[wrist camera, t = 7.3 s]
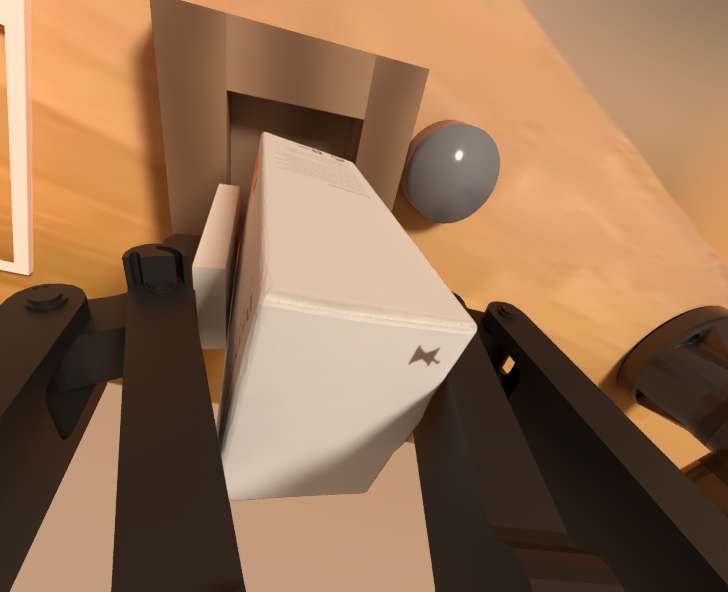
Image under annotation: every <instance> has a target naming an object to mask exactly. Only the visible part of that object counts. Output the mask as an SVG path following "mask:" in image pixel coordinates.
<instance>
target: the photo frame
mask: <svg viewBox="0 0 728 592" xmlns="http://www.w3.org/2000/svg"><path fill="white" fill-rule="evenodd" d="M0 24H2V25H4V26H5V47H6V72H7V97H8V121H9V146H10V171H11V196H12V221H13V246H14V263H12V262H7V261H2V260H0V270H4V271H9V272H14V273H19V274H24V275H30V274H31V273H32V272H33V176H32V68H31V0H0Z"/></svg>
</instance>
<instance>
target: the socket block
mask: <svg viewBox="0 0 728 592" xmlns="http://www.w3.org/2000/svg"><path fill="white" fill-rule="evenodd" d="M150 8H151V19H152V29H153V40H154V50H155V61H156V71H157V82H158V92H159V102H160V113H161V123H162V134H163V144H164V155H165V165H166V176H167V186H168V196H169V207H170V217H171V228H172V235H174V234H176V233H177V234H188V235H200V236H202V235H203V231H204V228H205V225H206V222H207V219H208V216H209V213H210V210H211V207H212V204H213V201H214V198H215V195H216V192H217V189H218V186H219V184H226V185H233V186H240V187H239V243H240V239H241V235H242V230H243V225H244V220H245V215H246V209H247V204H248V199H249V194H250V189H251V185H252V180H253V175H254V170H255V165H256V160H257V155H258V150H259V144H260V139H261V134H262V133H263V132H267V133H270V134H272V135H275V136H278V137H281V138H284V139H287V140H290V141H292V142H295V143H298V144H301V145H304V146H307V147H310V148H313V149H317V150H320V151H322V152H325V153H328V154H330V155H333V156H336V157H339V158H342V159H345V160H347V161H350V162H352V163H353V164H354V165H355V166H356V167H357V169H358V170H359V171H360V173H361V174H362V175H363V177H364V178H365V179H366V180H367V182H368V183H369V185H370V186H371V187H372V188H373V190H374V191H375V192H376V194H377V195H378V196H379V198H380V199H381V200H382V201H383V203H384V204H385V205H386V207H387V208H388V209H389V211H390V212H391V213H392V209H393V205H394V201H395V197H396V194H397V190H398V186H399V182H400V179H401V175H402V171H403V167H404V163H405V160H406V156H407V152H408V148H409V144H410V141H411V137H412V133H413V129H414V126H415V122H416V118H417V114H418V110H419V107H420V103H421V99H422V95H423V91H424V88H425V84H426V80H427V76H428V72H429V69H426V68H422V67H419V66H415V65H411V64H408V63H404V62H401V61H397V60H394V59H390V58H386V57H383V56H379V55H376V54H372V53H368V52H365V51H361V50H358V49H354V48H350V47H347V46H343V45H340V44H336V43H332V42H329V41H325V40H322V39H318V38H314V37H311V36H307V35H304V34H300V33H296V32H293V31H289V30H286V29H282V28H278V27H275V26H271V25H268V24H264V23H261V22H257V21H253V20H250V19H246V18H243V17H239V16H235V15H232V14H228V13H225V12H221V11H217V10H214V9H210V8H207V7H203V6H199V5H196V4H192V3H189V2H185V1H181V0H150ZM238 248H239V247H238Z"/></svg>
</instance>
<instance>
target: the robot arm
mask: <svg viewBox="0 0 728 592" xmlns="http://www.w3.org/2000/svg"><path fill="white" fill-rule="evenodd" d="M239 187H240V186H233V185H226V184H219V186H218V189H217V192H216V195H215V198H214V201H213V204H212V207H211V210H210V213H209V216H208V219H207V222H206V225H205V228H204V231H203V235H202V236H200V235H188V234H177V233H176V234H174V235H172V236H171V237H169V238H167V239H166V240H165V241H164V243H163V244H145V245H140V246H137V247H133V248H131V249H130V250H128V251H126V252H125V253H124V255H123V257H122V260H123V265H124V271H125V276H126V281H127V286H128V292H127V293H124V294H121V295H117V296H111V297H105V298H97V299H89V300H87V297H86V294H85V293H84V291H83V290H82V289H80V288H78V287H76V286H74V285H67V284H43V285H37V286H33V287H30V288H27V289H24V290H22V291H19V292H17V293H15V294H14V295H12V296H11V297H9V298H8V299H6V300H5V301H4V302H3V303H2V304H1V305H0V592H9V591H10V590H11V587H12V585H13V583H14V581H15V579H16V577H17V575H18V573H19V570H20V568H21V566H22V564H23V562H24V560H25V558H26V556H27V553H28V551H29V549H30V547H31V545H32V543H33V541H34V539H35V536H36V534H37V532H38V530H39V528H40V526H41V524H42V521H43V519H44V517H45V515H46V513H47V511H48V509H49V507H50V504H51V502H52V500H53V498H54V496H55V494H56V492H57V490H58V487H59V485H60V483H61V481H62V479H63V477H64V474H65V473H66V470H67V468H68V466H69V464H70V462H71V460H72V458H73V456H74V453H75V451H76V449H77V447H78V445H79V443H80V441H81V439H82V436H83V434H84V432H85V430H86V428H87V426H88V424H89V421H90V419H91V417H92V415H93V413H94V411H95V409H96V407H97V404H98V402H99V400H100V398H101V396H102V394H103V392H104V389H105V387H106V385H107V381H109V380H113V379H117V378H122V377H123V386H122V405H121V425H120V443H119V461H118V480H117V496H116V516H115V533H114V534H115V535H114V552H113V570H112V588H111V592H246V589H245V585H244V580H243V574H242V569H241V563H240V558H239V552H238V547H237V541H236V536H235V530H234V525H233V520H232V514H231V508H230V503H229V497H228V491H227V486H226V480H225V475H224V469H223V464H222V458H221V452H220V447H219V441H218V436H217V430H216V425H215V419H214V414H213V408H212V402H211V397H210V391H209V386H208V380H207V375H206V369H205V364H204V358H203V353H202V349H226V344H227V336H228V328H229V320H230V312H231V304H232V296H233V288H234V280H235V271H236V263H237V255H238V247H239ZM451 292H452V291H451ZM452 293H453V295H454V296H455V297H456V298H457V300H458V301H459V302H460V304H461V305H462V306H463V308H464V309H465V310H466V311H467V313H468V314H469V315H470V316H471V318H472V319H473V320H474V322H475V323H476V325H477V331H476V333H475V335H474V336H473V338H472V339H471V340H470V342H469V343H468V345H467V346H466V348H465V349H464V351H463V352H462V354H461V355H460V357H459V358H458V360H457V361H456V363H455V364H454V365H453V367H452V368H451V370H450V371H449V372H448V374H447V375H446V377H445V379H444V380H443V382H442V383H441V385H440V386H439V388H438V389H437V391H436V392H435V394H434V395H433V396H432V398H431V400H430V402H429V404H428V405H427V408H426V410H425V413H424V415H423V417H422V419H421V420H420V422H419V423H418V425H417V426H416V427H415V428H414V430H413V435H414V442H415V449H416V456H417V462H418V470H419V477H420V484H421V491H422V498H423V506H424V513H425V520H426V527H427V534H428V541H429V548H430V555H431V563H432V570H433V577H434V584H435V592H728V310H727V309H725V308H724V307H720V306H708V307H703V308H699V309H696V310H693V311H690V312H688V313H685V314H683V315H681V316H679V317H677V318H675V319H673V320H672V321H670V322H668V323H666V324H665V325H663V326H662V327H660V328H659V329H657V330H656V331H655V332H653V333H652V334H651V335H650V336H648V337H647V338H646V339H645V340H644V341H643V342H641V343H640V344H639V345H638V346H637V347H636V348H635V349H634V350H633V352H632V353H631V354H630V355H629V356H628V358H627V359H626V360H625V362H624V363H623V365H622V367H621V369H620V371H619V374H618V378H617V383H618V386H619V388H620V389H621V390H622V391H623V392H624V393H626V394H627V395H628V396H629V397H630V398H631V399H632V400H633V401H635V402H636V403H638V404H639V405H641V406H643V407H645V408H647V409H649V410H651V411H652V412H654V413H656V414H658V415H660V416H662V417H663V418H665V419H667V420H669V421H671V422H673V423H674V424H676V425H678V426H680V427H682V428H684V429H685V430H687V431H688V432H690V433H691V434H692V435H693V436H694V437H695V438H697V439H698V440H699V441H700V442H701V443H702V444H703V445H704V446H706V447H707V448H708V449H709V450H710V451H711V452H710V453H708V454H707V455H705V456H703V457H701V458H699V459H698V460H695V461H694V462H692V463H690V464H689V465H687V466H685V467H683V468H681V469H678V467H677V466H676V465H675V464H674V463H673V462H672V461H671V460H670V459H669V458H668V457H667V456H666V455H665V454H664V453H663V452H662V451H661V450H660V449H659V448H658V447H657V446H656V445H655V444H654V443H653V442H652V441H651V440H650V439H649V438H648V437H647V436H646V435H645V434H644V433H643V432H642V431H641V430H640V429H639V428H638V427H637V426H636V425H635V424H634V423H633V422H632V421H631V420H630V419H629V418H628V417H627V416H626V415H625V414H624V413H623V412H622V411H621V410H620V409H619V408H618V407H617V406H616V405H615V404H614V403H613V402H612V401H611V400H610V399H609V398H608V397H607V396H606V395H605V394H604V393H603V392H602V391H601V390H600V389H599V388H598V387H597V386H596V385H595V384H594V383H593V382H592V381H591V380H590V379H589V378H588V377H587V376H586V375H585V374H584V373H583V372H582V371H581V370H580V369H579V368H578V367H577V366H576V365H575V364H574V363H573V362H572V361H571V360H570V359H569V358H568V357H567V356H566V355H565V354H564V353H563V352H562V351H561V350H560V349H559V348H558V347H557V346H556V345H555V344H554V343H553V342H552V341H551V340H550V339H549V338H548V337H547V336H546V335H545V334H544V333H543V332H542V331H541V330H540V329H539V328H538V327H537V326H536V325H535V324H534V323H533V322H532V321H531V320H530V319H529V318H528V317H527V316H526V315H525V314H524V313H523V312H522V311H521V310H519V309H518V308H516V307H514V306H513V305H511V304H508V303H505V302H498V301H496V302H491V303H490V304H488V306H487V308H486V310H485V312H481V311H477V310H472V309H468V308H467V307H466V305H465V303H464V301H463V300H462V298H461V297H460V296H458V295H457V294H456V293H454V292H452ZM509 356H510V357H511V358H512V359H513V361H514V362H515V364H514V366H513V368H512V369H511V371H510V372H509V373H508V374H507V373H506V372H505V371H504V369H503V368H502V367H503V366H504V364H505V362H506V361H507V359H508V357H509Z"/></svg>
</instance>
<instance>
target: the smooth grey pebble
mask: <svg viewBox="0 0 728 592" xmlns="http://www.w3.org/2000/svg"><path fill="white" fill-rule="evenodd" d="M499 169H500V157H499V152H498V148H497V146H496V144H495V142H494V140H493V139H492V138H491V136H490V135H489V134H488V133H486V132H485V131H484V130H482V129H480V128H477V127H474V126H472V125H469V124H466V123H463V122H460V121H456V120H445V121H440V122H437V123H434V124H432V125H430V126H428V127H427V128H425V129H423V130H422V131H421V132H420V133H419V134H418V135H417V136H416V137H415V138H414V139H413V140H412V142H411V143H410V144H409V148H408V152H407V156H406V160H405V163H404V167H403V171H402V175H401V179H400V184H401V188H402V191H403V193H404V195H405V197H406V199H407V200H408V201H409V202H410V203H411V204H412V205H413V207H414V208H415V209H416V210H417V211H418V212H419V213H420V214H421V215H422V216H424V217H425V218H426V219H428V220H430V221H433V222H436V223H453V222H457V221H460V220H463V219H465V218H467V217H468V216H470V215H472V214H473V213H474V212H476V211H477V210H478V209H479V208H480V207H481V206H482V205H483V204H484V203H485V202H486V200H487V199H488V198H489V196H490V195H491V193H492V191H493V189H494V187H495V185H496V182H497V179H498V175H499Z"/></svg>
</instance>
